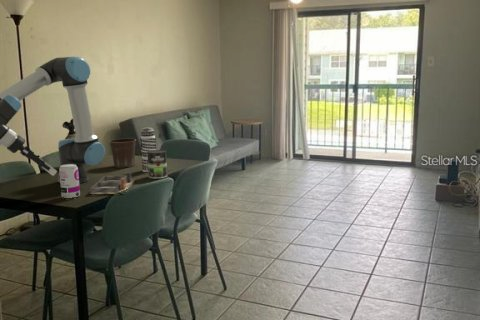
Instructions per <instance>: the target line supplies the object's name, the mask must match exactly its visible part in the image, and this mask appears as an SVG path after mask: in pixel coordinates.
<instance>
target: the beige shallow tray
mask: <svg viewBox="0 0 480 320" xmlns="http://www.w3.org/2000/svg"><path fill="white" fill-rule="evenodd" d="M135 180H136V179H135V178H133V177H132V171H130V170H129V171H127V172H126V175H103V177H101V178H100V179H99V180H98V181H97V182H95V183H94V184H93V185H92V186H91V187H90V188H89V195H90V194H114V195H116V194H115V193H118V192H121V191H123V190H126V189H128V188H129V187H130V188H131V186H132V185H133V184H134V183H135ZM130 188H129V189H130ZM129 189H128V190H129Z"/></svg>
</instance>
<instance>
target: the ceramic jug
mask: <svg viewBox="0 0 480 320" xmlns="http://www.w3.org/2000/svg"><path fill="white" fill-rule="evenodd" d="M62 128H64V129H67V130H68V133H67V135H66V137H65V138H64V140H65V139H72V138H76V132H75V127H74V122H73V118H71V119H70V121H64V122H63V123H62Z"/></svg>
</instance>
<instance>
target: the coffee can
mask: <svg viewBox="0 0 480 320" xmlns="http://www.w3.org/2000/svg"><path fill="white" fill-rule="evenodd" d="M147 156H148V172H147V173H148V178H149V179H155V180H157V179H158V180H159V179H165V178H167V177H168V168H167V166H168V164H167V161H168V160H167V150H165V149H156V150H151V151H148V152H147Z"/></svg>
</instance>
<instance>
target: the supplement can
mask: <svg viewBox="0 0 480 320" xmlns="http://www.w3.org/2000/svg"><path fill="white" fill-rule="evenodd" d="M58 171H59V174H60V195H61V198H63V197H64V198H72V197H78V196H79V197H80V196H81V189H80V188H81V187H80V183H79V175H78V167H77V166H76V164H66V165H61V166H59V169H58ZM59 174H58V175H59ZM79 197H78V198H79ZM64 198H63V199H64Z"/></svg>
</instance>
